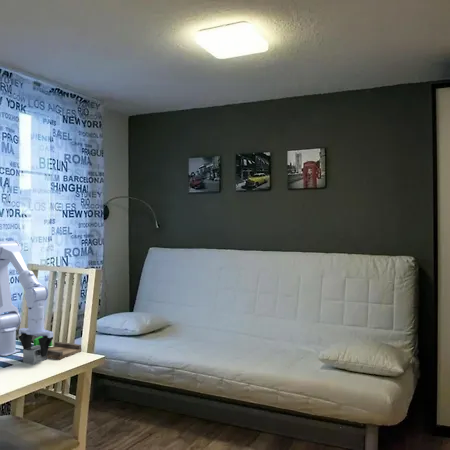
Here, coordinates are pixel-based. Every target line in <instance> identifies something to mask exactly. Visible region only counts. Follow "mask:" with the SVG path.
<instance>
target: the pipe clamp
mask: <svg viewBox="0 0 450 450" xmlns="http://www.w3.org/2000/svg"><path fill="white" fill-rule="evenodd" d="M39 338H43V337H42V336H37V338H34V339H33V346H36V345H40V343H39V340H38V339H39ZM49 347H53V340H52V341H51V343H50V345H49Z"/></svg>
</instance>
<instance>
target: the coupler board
mask: <svg viewBox="0 0 450 450" xmlns="http://www.w3.org/2000/svg"><path fill="white" fill-rule="evenodd" d="M79 353H82V344H78V343H70V342H69V343H68V342H61V341H54V346H53V345H52V346H49V348H48V351H47V359H51V360H52V359H53V360H58V361H60V360H62V359H65V357H66V358H68V357H71V356H72V355H76V354H79Z"/></svg>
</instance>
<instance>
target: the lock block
mask: <svg viewBox="0 0 450 450" xmlns="http://www.w3.org/2000/svg"><path fill="white" fill-rule="evenodd" d="M22 349H23V348H22ZM22 353H23V354H22V358H23V359H22V363H23V364H29V365H36V364H38V363H41V362H44V361H47V360H48V358H47V355H46V356H44V357H41V349H40V345H36V346H34V345H33V346H31V347H30V348H27V349H23V352H22Z"/></svg>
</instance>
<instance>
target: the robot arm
mask: <svg viewBox="0 0 450 450" xmlns="http://www.w3.org/2000/svg"><path fill="white" fill-rule="evenodd" d="M22 250H23V249H22V246H21V244H20V242H19V241H17V240H8V241H6V240H5V241H4V240H2V241H0V356H2V357H7V356H10V355H13V354H17V353H19V352H21V351H22V349H27V348H30V347H32V340H33V337H34V336H36V337H40V336H42V337H43V338H39V339H38V340H39V343H40V349H41V357H44V356H46V355H47V351H48V348H50V346H49V345H50V343H51V341H52V342H53V340H54V331H51V330H47V329H45V301H46V300H47V299H48V297H49V291H48V288H47V286H45V285H43V284H42V283H41V282H40V281H39V280H38V278H37V276H36V275H35V273H34V272H33V270H29V269H28V266H27V264H26V262H25V260H24V257H23V256H22ZM10 263H11V264H12V266H13V267H14V269H15V270H16V272H17V273H18V277H17V278H18V281H19V283H20V285H21V286H22V288H23V290H24V291H25V293H24V298H25V301H26V308H27V327H21V328H19V327H20V325H21V324H22V318H21V317H22V316H21V315H20V313H19V307H17V306H15V305H13V301H12V300H13V299H12V293H11V285H10V284H11V283H10V278H9V270H8V266H9V264H10ZM17 330H18V340H19V341H20V343H21V345H22V349H21V350H20V349H17V348H16V343H17V341H16V340H17V339H16V338H17Z"/></svg>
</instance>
